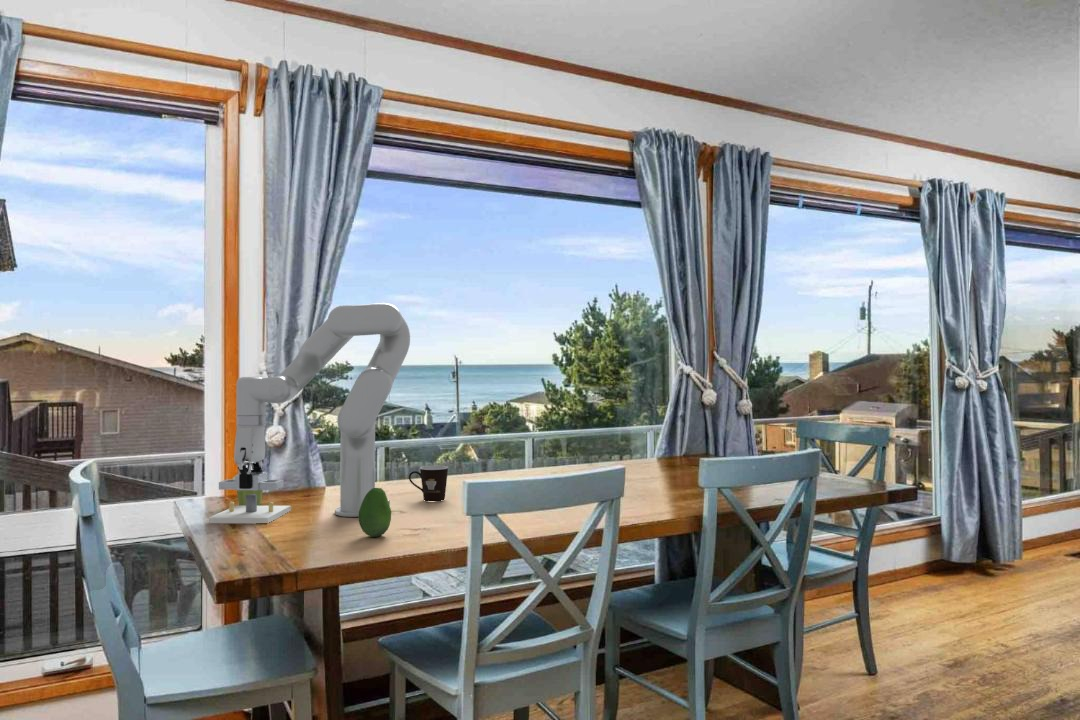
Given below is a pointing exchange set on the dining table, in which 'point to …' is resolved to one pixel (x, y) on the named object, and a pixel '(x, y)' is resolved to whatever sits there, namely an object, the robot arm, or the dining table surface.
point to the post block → (249, 512)
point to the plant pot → (243, 493)
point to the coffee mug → (432, 482)
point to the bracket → (257, 483)
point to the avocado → (375, 513)
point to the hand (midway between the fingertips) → (251, 485)
